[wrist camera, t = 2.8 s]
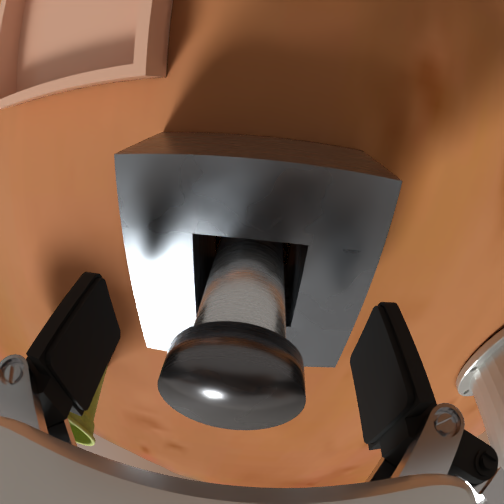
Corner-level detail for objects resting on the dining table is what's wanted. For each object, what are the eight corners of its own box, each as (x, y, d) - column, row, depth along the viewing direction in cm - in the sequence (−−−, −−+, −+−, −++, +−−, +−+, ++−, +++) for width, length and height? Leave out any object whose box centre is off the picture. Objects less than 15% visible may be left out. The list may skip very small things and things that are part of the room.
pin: (295, 197, 15) (323, 366, 6) (285, 262, 17) (290, 433, 8) (218, 190, 15) (144, 346, 6) (216, 255, 17) (169, 419, 8)
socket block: (362, 150, 13) (402, 181, 9) (324, 305, 18) (335, 367, 14) (162, 132, 13) (114, 154, 9) (171, 289, 18) (147, 347, 14)
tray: (187, -77, 6) (173, -97, 4) (166, 77, 12) (145, 75, 9) (32, -24, 6) (9, -28, 4) (17, 104, 12) (-9, 112, 10)
